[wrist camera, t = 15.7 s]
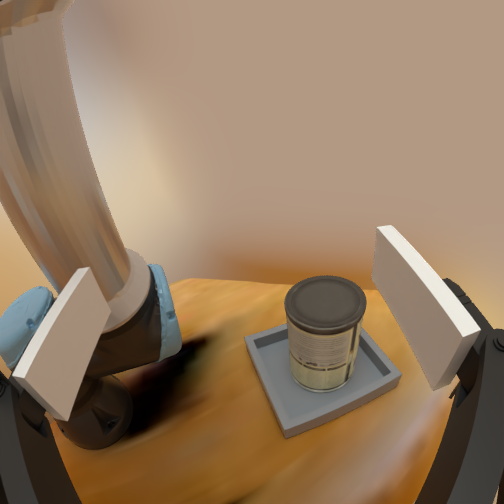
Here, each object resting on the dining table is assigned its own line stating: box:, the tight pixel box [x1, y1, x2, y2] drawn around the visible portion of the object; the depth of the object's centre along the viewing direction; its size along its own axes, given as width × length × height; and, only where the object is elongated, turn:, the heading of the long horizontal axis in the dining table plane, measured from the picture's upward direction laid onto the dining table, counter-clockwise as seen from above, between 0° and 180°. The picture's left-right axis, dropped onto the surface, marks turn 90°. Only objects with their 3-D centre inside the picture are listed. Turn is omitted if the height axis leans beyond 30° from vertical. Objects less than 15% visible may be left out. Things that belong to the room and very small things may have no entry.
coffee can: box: [284, 276, 366, 393], centre depth 38 cm, size 10×10×14 cm
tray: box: [244, 323, 402, 439], centre depth 41 cm, size 18×18×3 cm
